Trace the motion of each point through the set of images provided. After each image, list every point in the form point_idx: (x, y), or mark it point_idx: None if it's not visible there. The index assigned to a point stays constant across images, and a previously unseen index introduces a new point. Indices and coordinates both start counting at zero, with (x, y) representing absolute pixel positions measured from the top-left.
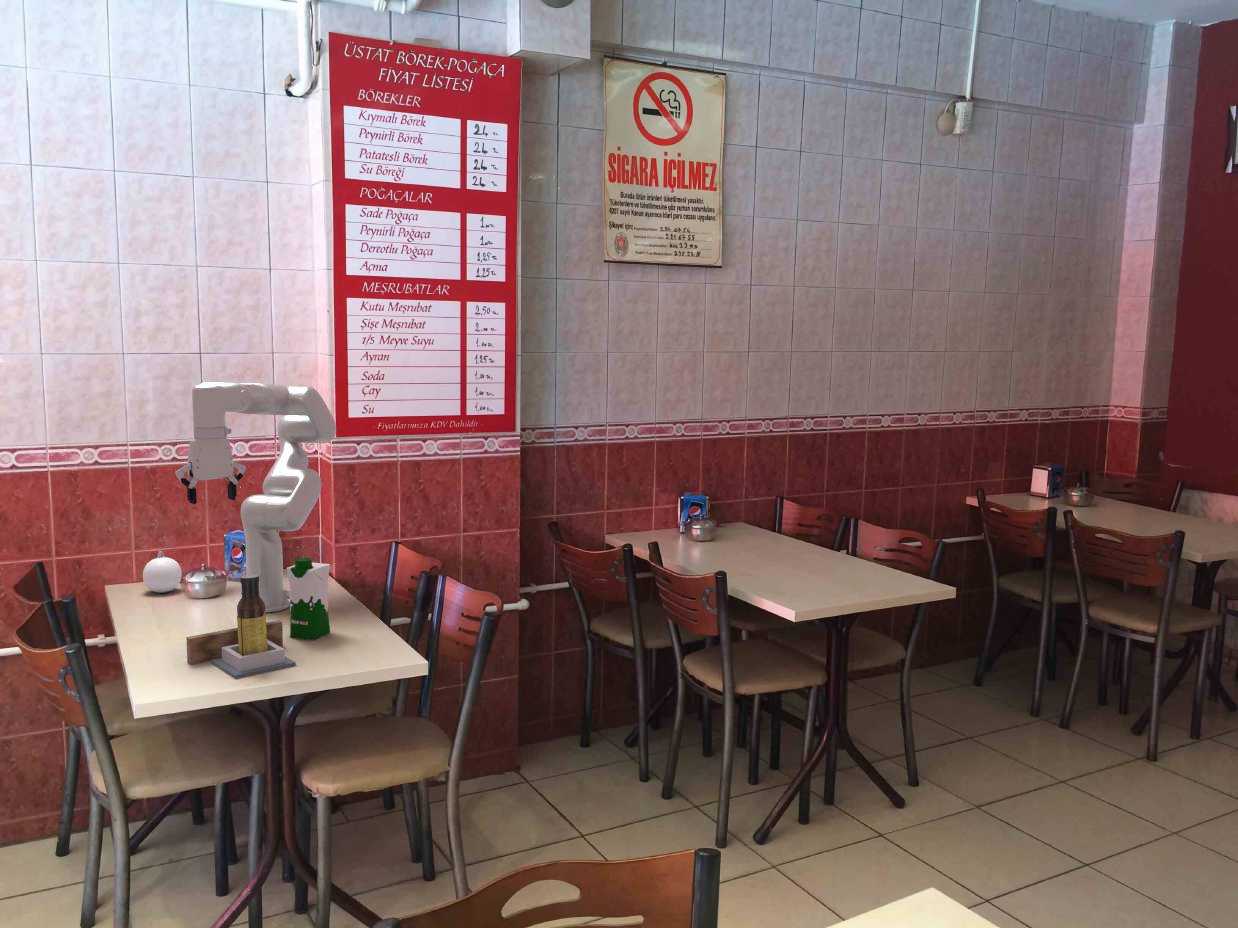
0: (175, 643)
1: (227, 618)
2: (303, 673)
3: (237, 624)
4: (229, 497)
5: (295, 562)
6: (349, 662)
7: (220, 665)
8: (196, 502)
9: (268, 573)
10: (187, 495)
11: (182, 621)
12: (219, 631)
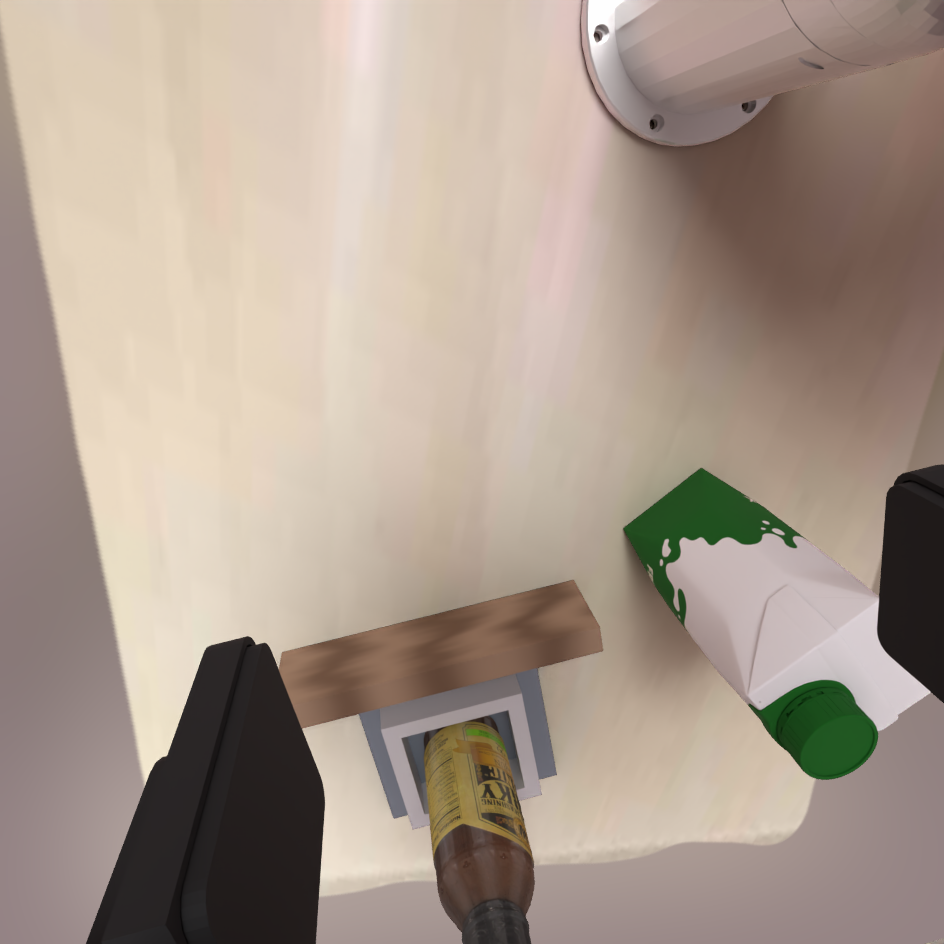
0: (249, 436)
1: (487, 144)
2: (552, 819)
3: (431, 832)
4: (904, 557)
5: (793, 746)
6: (674, 782)
7: (369, 741)
8: (321, 808)
9: (785, 87)
10: (136, 825)
11: (288, 86)
12: (386, 686)
